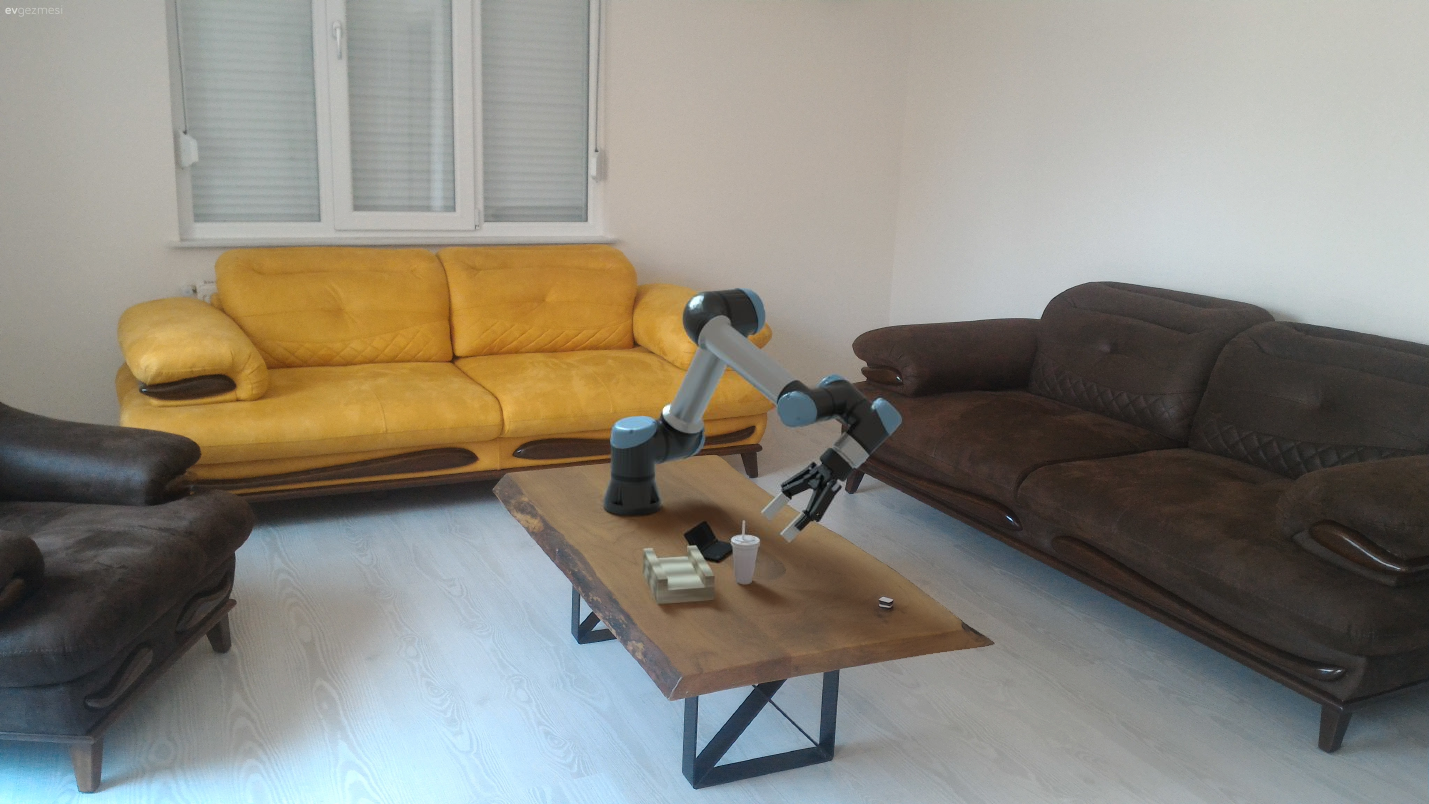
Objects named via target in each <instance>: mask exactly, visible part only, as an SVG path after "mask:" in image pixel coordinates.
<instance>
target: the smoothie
mask: <svg viewBox="0 0 1429 804" xmlns="http://www.w3.org/2000/svg"><path fill="white" fill-rule="evenodd" d="M741 525H742V527H741V528H742V530H741V534H737V535H734V536H733V537H731V541H730V543H731V545H732V546H733V552H732V557H733V566H734V567H733V568H734V581H735V582H736V583H737V584H739V585H749V584H751V583H753V578H754V573H755V566H756V562H757V561H756V560H757V555H758V551H759V550H758V549H759V547H760V546H761V540H760V538H759V537H758V536H755V535H750V534H745V533H746V520H742V524H741Z"/></svg>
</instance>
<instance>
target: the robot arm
mask: <svg viewBox="0 0 1429 804" xmlns="http://www.w3.org/2000/svg"><path fill="white" fill-rule="evenodd" d="M681 319H682V325H683V326H682V327H683V329H684V331H685V333H686V335H687V336H688V338H689V339H690V340H691V342H693V343H694V344H695V345H696V347H697V350H696V352H695V354H694V356H693V359H692V361H691V363H690V364H689V366H688V369H687V370H686V374H684V377H683V380H682V382H681V384H680V386H679V388H678V391H677V392H676V395H675V397H674V399H673V401H672V402H670V403H668V404H666V405H665V406H663V409H662V411H661V413H660V415H659V417H658V418H657V419H655V418H653V417H650V416H645V415H636V416H635V415H633V416H628V417H624V418H622V419H620V420H617V421H616V422H615V423H614V424H613V426H612V428H611V432H610V433H611V436H610V441H609V442H610V479H609V482H608V485H607V486H606V487H607V488H606V491H605V493H604V496H603V509H605V511H607V512H608V513H611V514H614V515H618V516H625V517H639V516H647V515H651V514H655V513H657V512H659V511H660V510H661V508H662V498H661V493H660V491H659V490H660V489H659V488H658V485H657V481H656V465H660V464H664V463H670V462H673V461H674V462H676V461H679V460H684V459H685V460H686V459H688V458H690V457H692V456H695V455H696V454H698V453H699V452H700V451H702V449H703V446H704V444H705V441H706V435H705V432H706V427H705V423H704V418H703V415H704V413H705V411H706V409H707V407H708V405H709V403H710V401H711V399H712V397H713V395H714V393H715V391H716V389H717V387H718V385H719V383H720V382H721V379H722V376H723V375H724V373H725V371H726V369H727V367H729V368H730V369H732V370H733V371H734V372H735V373H736V374H738V375H739V376H740V377H741V378H742V379H744V380H745V381H746V382H747V383H748V384H749V385H751V386H752V387H753V388H755V390H757V391H758V392H759V393H761V394H762V395H763V396H764V397H765V398H767V399H768V400H769V401H770V402H772V404H774V405H775V406H776V411H777V412H776V413H777V415H778V417H779V418H780V421H781V422H782V423H783V424H784V425H785V426H786V427H789V428H803V427H808V426H810V425H815V424H818V423H823V422H827V421H832V420H836V419H838V420H840V421H842V423H843V424H845V425H846V426H847V427H848V428H847V429H846V430H845V431H844V432H843V433H842V434H841V435H840V436H838V438H837V439H836V440H835V441H834V442H833V443H832V447H828V448H827V449H826V450H825V451H824V452H823V453H822V455H820V456H819V461H820V462H821V464H820V465H818V464H817V463H816V462H815V461H812V462H811V463H809V465H807V466H806V467H805V468H803V469H802V470H800V471H799V472H797V473H796V474H794V475H793V476H791V477H789V478H788V479H787V480H785V481H784V482H782V483H781V484H780V488H781V490H780V492H779V493H778V494H777V495H776V496H775V497H774V498H773V500H771V501H770V502H769V503H768V504H767V505H766V506H765V508H763V509H762V510H761V511H760V513H761V514H762V515H763V516H764V517H765V518H766V519H767V520H768V521H771V520H772V519H773V518H774V517H775V516H776V515H777V514H778V513H780V511H781V510H782V509H783V508H784V507H785V506H786V505H787V504H788V503H789V502H790V501H792V499H793V497H794V496H797V495H798V494H800V493H803V492H805V491H807V490H810V489H811V490H812V494H811V496H810V499H809V501H808V503H807V506H806V508H805V509H803V510H802V511H801V512H800V513H799V514H798V515H797V516H796V517H795V518H794V519H793V520H792V521H791V522H790V523H789V524H788V525H787V526H786V527H785V528H784V529H783V530H781V532H780V533H779V534H780V535H781V537H783V538H784V539H785V540H786V541H787V543H789V544H790V543H791V542H792V541H793V540H794V539H795V538H796V537H797V536H798V535H799V534H800V533H801V532H802V531H803V530H804V529H805V528H806V527H807V525H809V524H810V523H811V522H812V523H813V522H816V523H820V521H821V520H822V519H823V517H824V515H825V514H826V512H827V510H828V508H829V507H830V505H831V504H832V502H833V500H834V498H836V497H835V496H836V495H837V494H838V493H839V492H840V490H841V489H842V488H843V487H842V485H841V484H840V483H839V482H838V480H839V481H840V482H843V483H844V482H846V481H847V480H848V479H849V478H850V477H851V476H852V474H854V471H855V469H858V468H859V467H860V466H861V465H862V464H864V463H865V462H866V460H867V459H868V457H870V456H871V455H872V454H873V453H874V452H875V450H877V449H878V448H879V447H880V446H881V445H882V444H883V443H884V442H885V441H886V440H887V439H888V438H889V437H891V436H892V434H893V433H894V432H895V431H896V430H897V428H898V427H899V426H900V425H901V424H902V423H903V422H902V421H903V419H902V418H903V417H902V415H901V413H900V412H899V411H898V410H897V409H896V408H895V407H894V406H893V405H892V404H891V403H890V402H889V401H887V400H886V399H884V398H882V397H879V398H877V399H876V400H874V401H872V400H870V399H869V398H868V397H867V396H866V395H864V394H863V392H861V391H860V390H859V389H858V388H857V387H856V386H854V385H853V384H852V383H851V382H850V381H849V380H847V379H846V378H844V377H843V376H841V375H840V374H837V373H832V374H829V375H828V376H827V377H824V378H823V379H822V380H820V383H818V385H817V387H813V388H810V387H808V386H807V385H806V384H805V383H803V382H802V381H800V379H798V378H797V377H796V376H795V375H793V374H792V373H791V372H789V371H788V370H787V369H786V368H784V367H783V366H782V365H781V364H780V363H778V362H777V361H776V360H775V359H773V358H772V357H771V356H769V354H767V353H766V352H764V351H763V350H762V349H761V348H759V347H758V346H757V345H756V344H754V343H753V342H752V341H751V340H750V339H749V337H750V336H755V335H756V334H758V333H760V332H761V331H762V329H763V328H764V326H765V322H766V309H765V305H764V303H763V301H762V299H761V297H760V296H759V294H758V293H757V292H755V291H753V290H752V289H749V288H740V287H735V288H731V289H722V290H712V291H711V290H709V291H708V290H706V291H705V290H704V291H701V292H699V293H696V294H695V295H693V296H692V297H690V299H689V300H688V301H687V302H686V304H685V306H684V308H683V312H682V318H681ZM854 468H855V469H854Z"/></svg>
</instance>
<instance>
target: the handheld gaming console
mask: <svg viewBox="0 0 1429 804" xmlns="http://www.w3.org/2000/svg"><path fill="white" fill-rule="evenodd" d="M683 536H684V539H685V540H686V542H687V544H688V546H697V548H698V550H699V551H700V553H701V554H702V556H703V558H704V559H705V561H709V562H712V563H719V562H721V561H722V560H723V559H724V558H726V557H727V556H728V555H730V554H731V553H733V546H732V545H731V542H727V541H723V540H719V539H718V538H717V536H716V535H715V533H714V531H713V530H712V528H711V526H710V524H709V523H708V521H707V520H703V521H701V522H700V523H698V524H696V526H694V527H692V528H690V529H689V530H687V531H686V532H685V533H683Z"/></svg>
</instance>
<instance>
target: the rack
mask: <svg viewBox="0 0 1429 804" xmlns="http://www.w3.org/2000/svg"><path fill="white" fill-rule="evenodd" d="M642 550H643V551H642V552H643V553H642V573H643V575H644V577H645V579H646V582H647V584H648V586H649V589H650V590H651V592H652V595H653V596H654V600H655V601H656V604H657V605H663V604H678V603H688V602H689V603H691V602H704V601H706V602H707V601H714V600H715V576H716V575H715V573H714V572H713V571H712V569H711V567H710V565H709V564H708V562H707V560H705V559H704V558H703V556H702V554H701V553H700V551H699V550H698V548H697V546H690V545H687V547H686V556H674V557H660V558H658V556H657V555H656V553H655V550H654V549H653V547H647V548H646V547H645V548H643V549H642Z"/></svg>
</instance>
